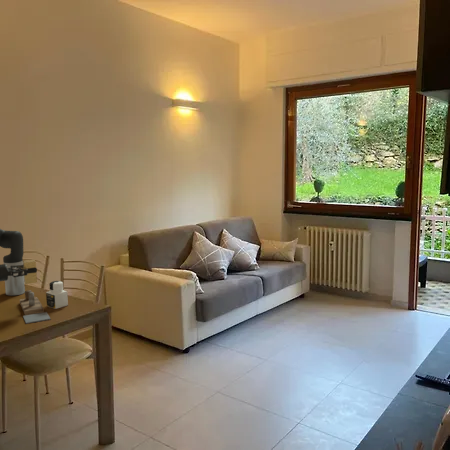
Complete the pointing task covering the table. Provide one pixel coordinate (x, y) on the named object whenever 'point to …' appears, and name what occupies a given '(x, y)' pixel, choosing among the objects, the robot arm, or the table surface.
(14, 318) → the table surface
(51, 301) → the medicine bottle
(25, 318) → the rubber mat
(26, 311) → the plane base
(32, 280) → the tan wooden block
